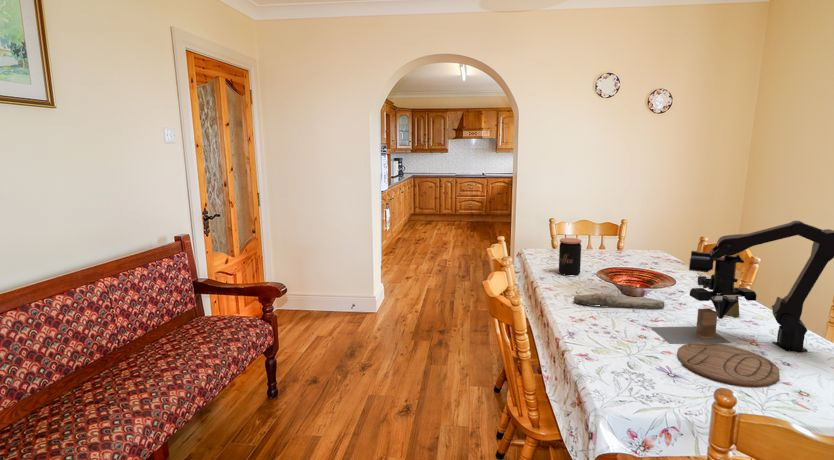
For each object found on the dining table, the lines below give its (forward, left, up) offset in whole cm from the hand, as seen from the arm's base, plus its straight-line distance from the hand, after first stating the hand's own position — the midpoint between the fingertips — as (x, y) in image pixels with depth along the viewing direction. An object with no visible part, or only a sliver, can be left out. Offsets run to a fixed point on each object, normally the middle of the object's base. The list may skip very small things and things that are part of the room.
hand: (720, 318), depth 150 cm
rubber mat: (+1, +9, -7) cm, 11 cm away
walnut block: (0, +4, -6) cm, 8 cm away
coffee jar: (+80, +26, -7) cm, 84 cm away
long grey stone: (+33, +20, -7) cm, 39 cm away
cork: (+20, -17, -7) cm, 27 cm away
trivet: (-20, +10, -7) cm, 24 cm away
